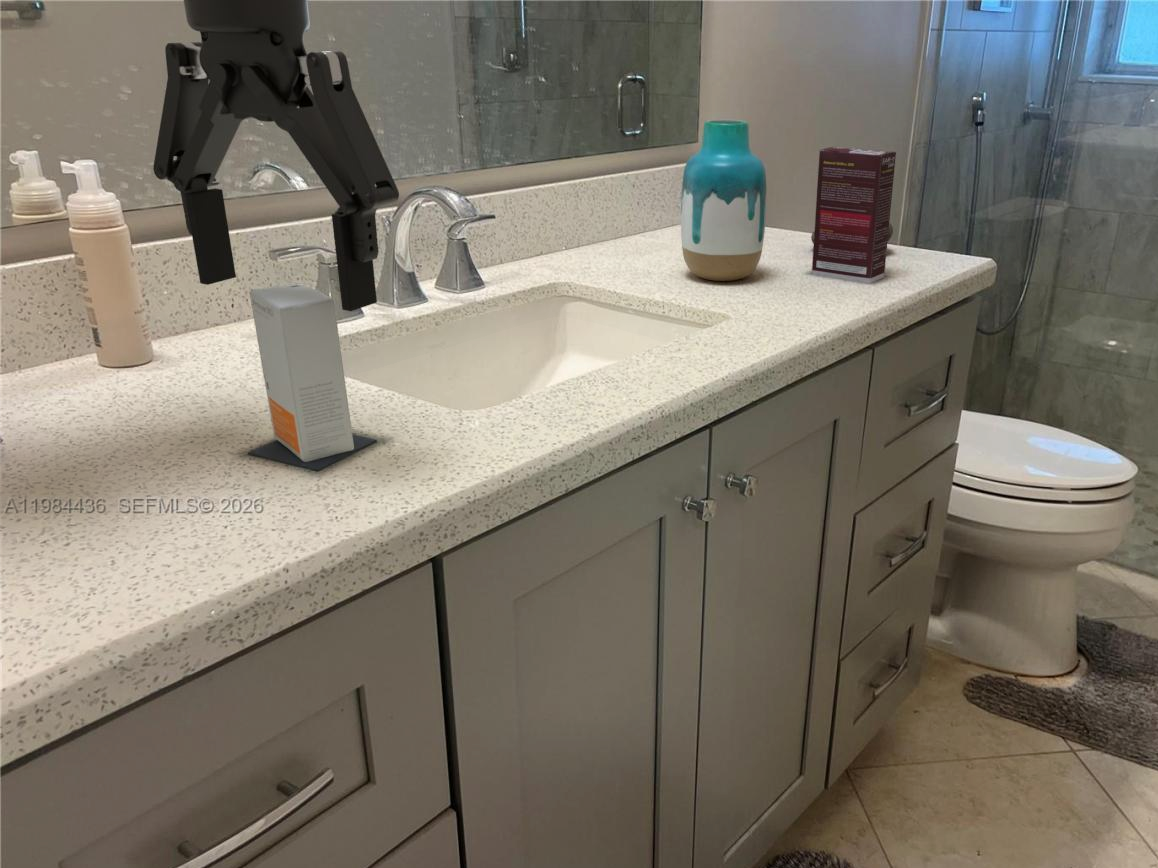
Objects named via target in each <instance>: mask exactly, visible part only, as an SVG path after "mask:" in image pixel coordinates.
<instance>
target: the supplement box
mask: <svg viewBox="0 0 1158 868" xmlns="http://www.w3.org/2000/svg"><path fill="white" fill-rule="evenodd" d="M896 156H897V151H891V150H890V151H889V150H878V149H876V150H875V149H867V148H866V149H865V148H852V147H844V146H843V147H842V146H830V147H825V148H822V149H819V155H818V169H817V184H816V185H817V186H816V200H815V217H814V231H813V232H814V244H813V249H812V263H811V267H812V268H811V275H814V276H820V277H824V278H825V277H826V278H831V279H832V278H833V279H838V280H844V281H851V282H856V283H863V284H873V283H875V282H877V281H879V280H881V279H883V278H885V271H886V261H887V252H888V251H887V250H888V242H889V241H888V231H889V223H890V220H891V219H890V218H891V209H892V198H893V187H894V180H895V179H894V178H895V167H896ZM887 241H888V242H887Z"/></svg>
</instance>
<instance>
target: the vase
mask: <svg viewBox="0 0 1158 868" xmlns="http://www.w3.org/2000/svg"><path fill="white" fill-rule="evenodd" d="M749 132H750V129H749V123H748V121H746V120H743V119H742V120H741V119H729V118H728V119H727V118H726V119H725V118H723V119H720V118H717V119H707V120H705V121H704V123H703V132H702V133H703V134H702V142H701V148H700V149H699V151H698V152H696V153H695V154H694V155H692V156H690V157H689V158H688V160H687V161H686V163H685V166H684V170H683V175H682V184H681V197H680V198H681V199H680V200H681V201H680V235H681V248H682V249H681V250H682V255H683V260H684V262H685V263H684V264H685V265H686V267H687V268H688V269H689V271H690V272H691V273H692V274H693V275H695V276H697V277H699V278H701V279H704V280H709V281H713V282H731V281H737V280H741V279H744V278H747V277H748V276H750V275H751V274H752V273H753V272H754V271H755V270H756V268H757V267H758V266H759V263H760V261H761V257H762V252H763V248H764V239H765V231H766V218H767V217H766V215H767V176H766V168H765V165H764V163H763V161H762V159H761V158H759V157H758V156H757V155H755V154H754V153H753V152H752V151H751V148H750V138H749V137H750V136H749V135H750V134H749Z"/></svg>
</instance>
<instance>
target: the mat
mask: <svg viewBox="0 0 1158 868" xmlns="http://www.w3.org/2000/svg"><path fill="white" fill-rule="evenodd" d="M352 436H353V443H354V449H353V450H351V451H348V452H345V453H340V454H336V455H332V456H328V457H324V458H320V459H317V460H313V461H310V462H303V461H302V460H301V459H300V458H299V457H297V456H296V455H295V454H294V453H293V452H292V451H291V450H289V449H288V448H287V447H285V446H284V445H283V444H282V443H281V442H279V441H278V440H276V439H274V440H273V441H271V442H268V443H266V444H264V445H262V446H260V447H257V448H254V449H253V450H250V451H248V452H247V455H248V456H252V457H256V458H260V459H263V460H268V461H272V462H276V463H281V464H284V465H288V466H293V467H297V468H300V469H304V470H309V471H311V472H312V471H313V472H317V473H318V472H320V471H323V470H324V469H327V468H328V467H331V466H332V465H334V464H337V463H338V462H340V461H342V460H344V459H346V458H348V457H351V456H353V455H355V454H357V453H358V452H360V451H363V450H364V449H366V448H368V447H370V446H372V445H374V444H376V443H378V440H377V439H375V438H371V437H367V436H366V437H365V436H361V435H358V434H357V435H356V434H353V433H352Z"/></svg>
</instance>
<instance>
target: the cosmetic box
mask: <svg viewBox="0 0 1158 868" xmlns="http://www.w3.org/2000/svg"><path fill="white" fill-rule="evenodd" d="M249 299H250V303H251V309H252V315H253V322H254V325H255V326H254V327H255V333H256V339H257V345H258V351H259V356H260V362H261V363H260V364H261V368H262V374H263V379H264V385H265V386H264V387H265V393H266V398H267V403H268V410H269V415H270V421H271V427H272V432H273V433H272V434H273V438H274V440H278V441H279V442H281V443H282V444H283V445H284V446H285V447H287V448H288V449H289V450H291V451H292V452H293V453H294V454H295V455H296V456H297V457H299V458H300V459H301V460H302V461H303V462H310V461H313V460H317V459H320V458H324V457H328V456H332V455H336V454H340V453H345V452H348V451H351V450H353V449H354V443H353V436H352V434H353V429H352V422H351V415H350V409H349V408H350V407H349V401H348V394H347V393H348V392H347V386H346V378H345V371H344V363H343V356H342V350H341V349H342V347H341V341H340V335H339V327H338V321H337V314H336V306H335V300H334V299H333V298H331V297H330V296H328V295H326V294H324V293H323V292H321V290H318V289H316V288H313V287H310V286H308V285H306V284H304V283H293V284H285V285H279V286H278V285H277V286H271V287H264V288H258V289H253V290H249Z"/></svg>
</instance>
